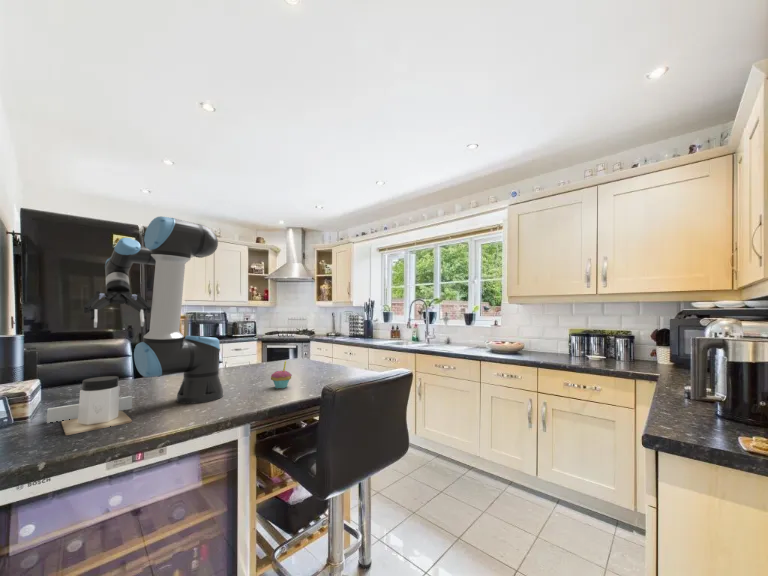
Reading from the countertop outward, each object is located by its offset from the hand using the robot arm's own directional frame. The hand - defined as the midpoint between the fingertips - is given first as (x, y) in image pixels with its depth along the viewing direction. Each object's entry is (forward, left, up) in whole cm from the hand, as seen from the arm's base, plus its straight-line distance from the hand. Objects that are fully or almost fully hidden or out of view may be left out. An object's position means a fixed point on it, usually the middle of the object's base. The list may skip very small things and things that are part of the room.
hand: (120, 324), depth 122 cm
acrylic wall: (-3, +17, -28) cm, 32 cm away
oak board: (-10, +25, -28) cm, 38 cm away
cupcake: (-56, -14, -28) cm, 64 cm away
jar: (-10, +25, -27) cm, 38 cm away
